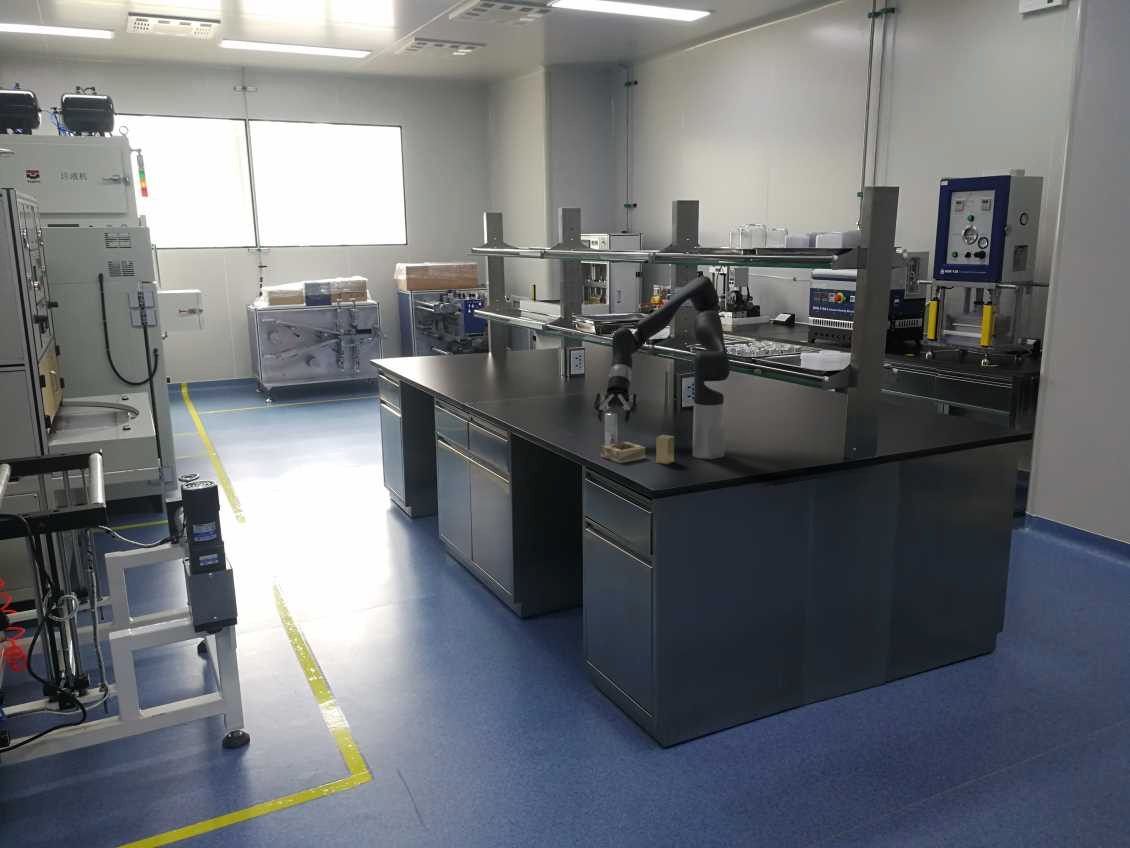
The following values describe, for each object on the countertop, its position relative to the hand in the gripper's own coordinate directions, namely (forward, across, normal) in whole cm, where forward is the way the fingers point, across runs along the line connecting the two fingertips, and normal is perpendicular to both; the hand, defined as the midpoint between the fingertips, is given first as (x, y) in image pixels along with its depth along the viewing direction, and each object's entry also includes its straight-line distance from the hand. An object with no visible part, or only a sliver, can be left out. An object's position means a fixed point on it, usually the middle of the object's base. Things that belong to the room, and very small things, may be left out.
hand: (613, 421), depth 281 cm
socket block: (+15, -6, +4) cm, 17 cm away
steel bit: (+9, 0, -2) cm, 10 cm away
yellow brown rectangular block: (+17, -20, +5) cm, 27 cm away
